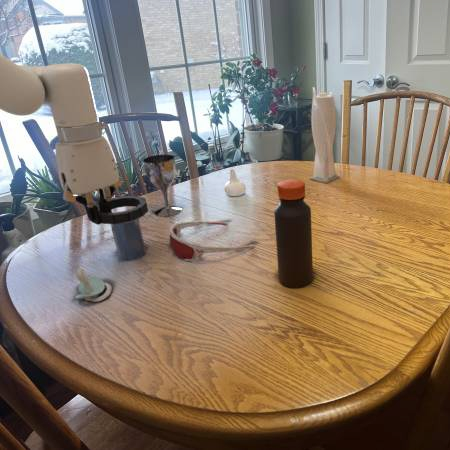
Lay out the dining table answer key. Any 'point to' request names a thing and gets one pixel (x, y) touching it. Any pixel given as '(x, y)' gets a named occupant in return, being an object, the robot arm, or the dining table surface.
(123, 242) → the cup
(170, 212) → the wine glass
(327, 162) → the skyscraper
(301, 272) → the bottle
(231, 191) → the garlic bulb
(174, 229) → the sunglasses
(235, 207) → the dining table surface
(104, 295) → the pacifier
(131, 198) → the ring
